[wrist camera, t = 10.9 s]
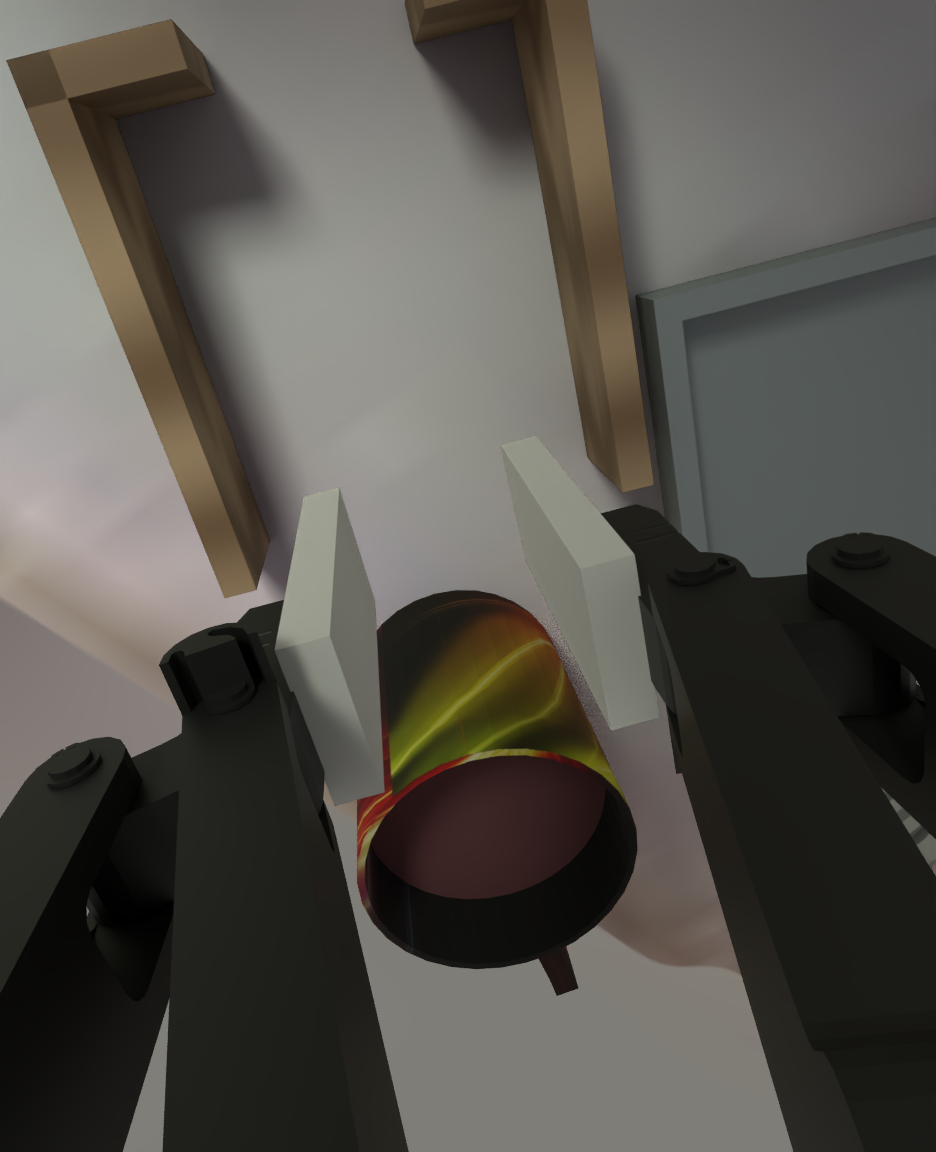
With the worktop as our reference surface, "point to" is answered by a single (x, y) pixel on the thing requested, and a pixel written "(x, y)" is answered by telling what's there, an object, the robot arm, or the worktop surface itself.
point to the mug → (487, 794)
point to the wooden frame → (152, 301)
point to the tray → (799, 399)
